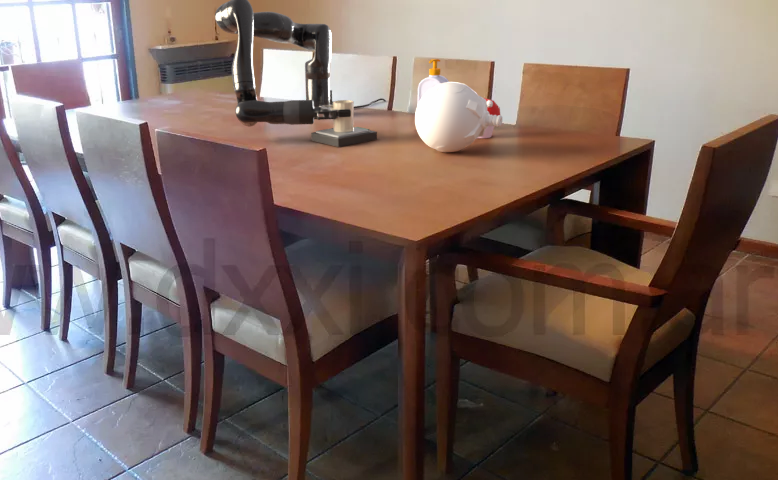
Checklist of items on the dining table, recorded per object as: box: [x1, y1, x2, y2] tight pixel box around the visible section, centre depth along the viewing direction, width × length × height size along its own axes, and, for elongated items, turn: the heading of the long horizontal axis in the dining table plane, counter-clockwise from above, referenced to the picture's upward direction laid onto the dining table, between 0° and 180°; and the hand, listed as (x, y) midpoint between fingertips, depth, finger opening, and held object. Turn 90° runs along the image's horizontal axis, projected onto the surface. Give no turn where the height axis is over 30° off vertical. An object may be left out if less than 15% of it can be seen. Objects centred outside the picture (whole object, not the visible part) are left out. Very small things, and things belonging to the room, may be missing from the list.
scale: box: [310, 126, 378, 148], centre depth 219 cm, size 16×14×3 cm
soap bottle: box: [416, 58, 450, 107], centre depth 225 cm, size 9×7×23 cm
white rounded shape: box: [414, 81, 503, 153], centre depth 195 cm, size 20×25×20 cm
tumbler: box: [332, 99, 355, 132], centre depth 217 cm, size 6×6×9 cm
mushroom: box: [476, 97, 501, 139], centre depth 216 cm, size 11×11×12 cm
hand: (350, 111), depth 216 cm, fingers closed on tumbler, 6 cm apart
